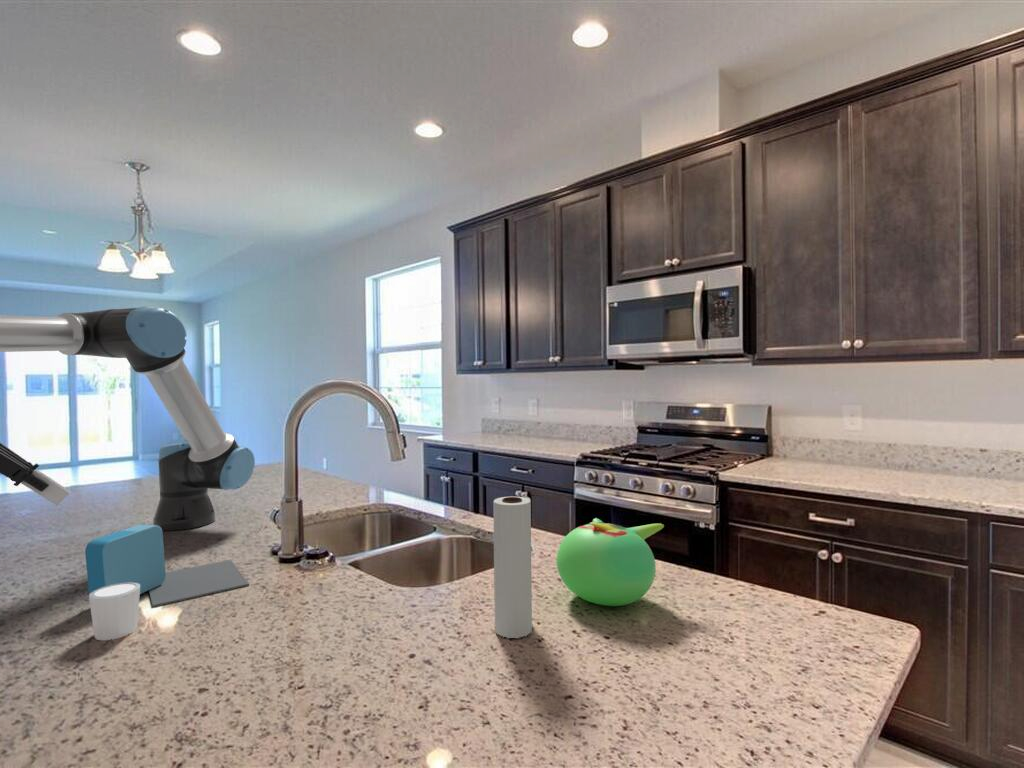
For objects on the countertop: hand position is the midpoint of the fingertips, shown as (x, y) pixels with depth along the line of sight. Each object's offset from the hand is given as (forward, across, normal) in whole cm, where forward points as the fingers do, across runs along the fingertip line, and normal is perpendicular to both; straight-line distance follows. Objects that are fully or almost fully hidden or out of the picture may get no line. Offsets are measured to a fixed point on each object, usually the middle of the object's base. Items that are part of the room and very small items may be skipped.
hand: (63, 498), depth 98 cm
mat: (+29, 0, 0) cm, 29 cm away
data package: (+21, 0, -8) cm, 22 cm away
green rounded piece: (+70, +58, +41) cm, 100 cm away
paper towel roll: (+55, +57, +27) cm, 84 cm away
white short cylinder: (+19, +17, -10) cm, 27 cm away
